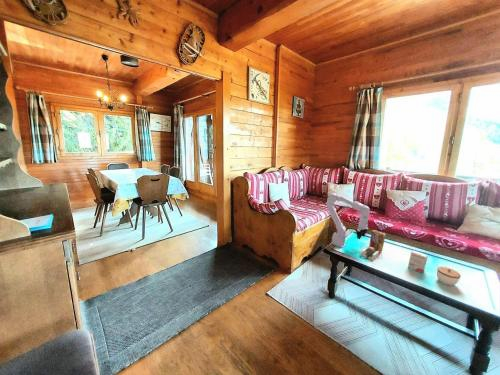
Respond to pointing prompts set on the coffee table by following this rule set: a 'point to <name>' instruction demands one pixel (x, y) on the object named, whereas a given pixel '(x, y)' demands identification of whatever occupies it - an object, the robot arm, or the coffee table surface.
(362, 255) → the end holder
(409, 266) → the ink box
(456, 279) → the lidded jar
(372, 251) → the connector plug
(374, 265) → the coffee table surface
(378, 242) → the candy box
